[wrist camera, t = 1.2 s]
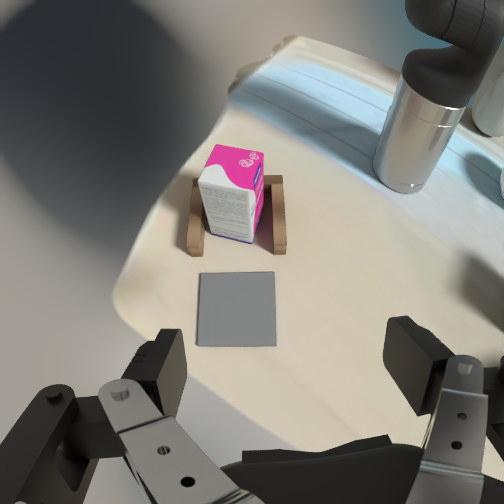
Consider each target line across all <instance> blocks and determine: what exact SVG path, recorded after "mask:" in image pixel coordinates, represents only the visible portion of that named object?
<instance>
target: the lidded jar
mask: <svg viewBox="0 0 504 504" xmlns="http://www.w3.org/2000/svg"><path fill="white" fill-rule="evenodd" d="M500 185H501V194H502V197H503V199H504V167H503V169H502V172H501V177H500Z"/></svg>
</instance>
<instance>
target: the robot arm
mask: <svg viewBox="0 0 504 504" xmlns="http://www.w3.org/2000/svg"><path fill="white" fill-rule="evenodd" d="M405 10H406V15H407V17H408V20H409V22H410V23H411V24H412V25H413V26H414V27H415V28H416V29H418V30H420V31H421V32H424V33H426V34H427V35H430V36H432V37H435V38H438V39H441V40H443V41H446V42H448V43H451V44H453V45H452V46H450V47H446V48H441V49H417V50H413V51H411V52H410V53H409V54H408V55H407V56H406V58H405V61H404V64H403V68H402V71H401V75H400V78H399V81H398V85H397V88H396V92H395V95H394V98H393V102H392V105H391V106H390V107H389V110H388V113H387V117H386V120H385V123H384V126H383V129H382V132H381V135H380V138H379V141H378V144H377V147H376V153H375V156H374V159H373V168H374V171H375V173H376V175H377V177H378V178H379V179H380V181H382V182H383V183H384V184H385V185H386V186H388V187H389V188H391V189H393V190H395V191H398V192H401V193H415V192H418V191H419V190H421V189H422V188H423V187H424V185H425V183H426V182H427V180H428V178H429V176H430V175H431V173H432V171H433V170H434V168H435V166H436V164H437V162H438V161H439V159H440V157H441V155H442V153H443V151H444V150H445V148H446V146H447V144H448V142H449V140H450V138H451V136H452V134H453V132H454V130H455V129H456V127H457V125H458V123H459V121H460V118H461V116H462V114H463V112H464V110H465V108H466V106H467V104H468V102H469V100H470V98H471V97H472V95H474V93H475V92H476V91H477V90H478V88H479V86H480V84H481V82H482V80H483V78H484V76H485V74H486V72H487V70H488V68H489V66H490V64H491V62H492V60H493V58H494V56H495V54H496V52H497V50H498V48H499V46H500V44H501V41H502V39H503V37H504V0H405ZM383 362H384V365H385V367H386V369H387V370H388V372H389V373H390V375H391V376H392V378H393V380H394V381H395V383H396V384H397V386H398V387H399V389H400V390H401V392H402V393H403V395H404V396H405V398H406V399H407V401H408V402H409V404H410V405H411V407H412V409H413V410H414V412H415V413H416V415H417V416H422V415H425V414H429V413H430V414H431V417H430V420H429V423H428V426H427V429H426V432H425V435H424V438H423V441H422V444H421V447H417V446H413V445H407V444H397V443H392V442H391V440H390V438H389V436H388V434H387V435H382V436H377V437H372V438H366V439H361V440H355V441H352V442H349V443H347V444H344V445H341V446H338V447H335V448H332V449H329V450H326V451H323V452H304V451H293V450H282V449H275V450H254V451H242V461H239V462H235V463H232V464H228V465H225V466H223V467H220V468H219V467H218V466H217V465H216V464H215V463H214V462H213V461H212V460H211V459H210V458H209V457H208V456H207V455H206V454H205V453H204V452H203V451H202V449H201V448H200V447H199V446H198V445H197V444H196V443H195V442H194V441H193V440H192V438H191V437H190V436H189V435H188V434H187V433H186V432H185V430H184V429H183V428H182V427H181V426H180V425H179V423H178V422H177V421H176V420H175V417H176V414H177V411H178V407H179V404H180V400H181V396H182V393H183V390H184V386H185V382H186V379H187V362H186V355H185V349H184V342H183V335H182V331H181V329H161V330H160V332H159V333H158V335H157V337H156V339H155V341H147V342H146V343H145V344H143V345H142V346H140V347H139V349H138V350H137V352H136V354H135V356H134V357H133V359H132V361H131V362H130V364H129V365H128V367H127V369H126V370H125V372H124V374H123V375H122V377H121V379H117V380H113V381H110V382H108V383H106V384H104V385H103V386H102V387H101V388H100V390H99V392H98V396H90V397H79V398H76V396H75V394H74V391H73V389H72V388H71V387H69V386H67V385H63V384H56V385H51V386H48V387H45V388H43V389H42V390H40V391H39V392H38V393H37V395H36V396H35V397H34V399H33V400H32V401H31V403H30V404H29V405H28V407H27V408H26V409H25V411H24V412H23V413H22V415H21V416H20V418H19V419H18V420H17V422H16V423H15V425H14V426H13V427H12V429H11V430H10V431H9V433H8V434H7V436H6V437H5V439H4V440H3V441H2V443H1V444H0V504H83V502H84V499H85V496H86V493H87V490H88V488H89V485H90V482H91V479H92V477H93V474H94V471H95V468H96V466H97V463H98V461H99V458H112V457H122V458H123V460H124V462H125V464H126V466H127V468H128V469H129V471H130V473H131V475H132V476H133V478H134V480H135V481H136V483H137V485H138V486H139V488H140V490H141V491H142V493H143V495H144V496H145V498H146V500H147V501H148V503H149V504H504V482H503V481H500V480H497V479H495V478H492V477H490V476H487V475H484V474H482V473H481V469H482V462H483V455H484V447H485V437H486V436H487V437H488V439H489V440H490V442H491V443H492V445H493V446H494V448H495V449H496V451H497V452H498V454H499V455H500V457H501V458H502V460H503V461H504V356H502V358H501V361H500V364H499V367H492V368H484V367H483V364H482V363H481V361H479V360H478V359H476V358H475V357H472V356H468V355H455V354H454V353H453V352H452V351H451V350H450V349H449V348H448V347H446V346H445V345H444V344H443V343H441V341H440V340H439V339H438V338H436V336H435V335H434V334H433V333H432V332H430V331H429V330H427V329H425V328H423V327H421V326H418V325H417V324H416V323H415V322H414V321H413V320H412V319H411V318H410V317H409V316H399V317H391V318H389V319H388V322H387V328H386V335H385V342H384V349H383ZM57 449H58V450H57Z"/></svg>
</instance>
